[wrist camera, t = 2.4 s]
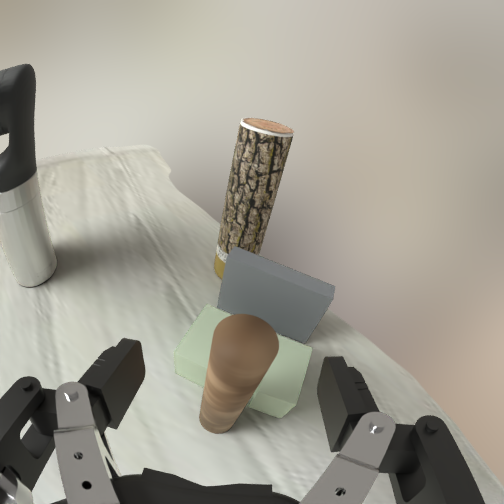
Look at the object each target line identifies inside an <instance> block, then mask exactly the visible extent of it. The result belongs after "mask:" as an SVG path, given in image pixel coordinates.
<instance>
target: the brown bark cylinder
mask: <svg viewBox="0 0 504 504" xmlns="http://www.w3.org/2000/svg"><path fill="white" fill-rule="evenodd" d="M293 132H294V131H293V130H292V129H291V128H289V127H287V126H284V125H282V124H279V123H276V122H272V121H268V120H263V119H257V118H243V119H241V123H240V127H239V131H238V136H237V141H236V146H235V151H234V156H233V161H232V166H231V171H230V176H229V182H228V187H227V193H226V198H225V204H224V209H223V215H222V220H221V226H220V232H219V238H218V244H217V251H216V257H215V263H214V269H215V272H216V274H217V275H218V276H219V277H220V278H221V279H222V278H223V273H224V268H225V263H226V258H227V255H228V254H229V253H230V251H231V250H232V249H233V247H234V246H236V247H239V248H241V249H244V250H246V251H249V252H251V253H254V254H256V255H259V253H260V250H261V246H262V243H263V239H264V236H265V232H266V229H267V225H268V222H269V219H270V215H271V211H272V208H273V205H274V201H275V198H276V194H277V191H278V187H279V184H280V180H281V177H282V173H283V170H284V166H285V163H286V159H287V156H288V152H289V149H290V145H291V142H292V138H293Z"/></svg>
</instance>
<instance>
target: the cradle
mask: <svg viewBox="0 0 504 504" xmlns="http://www.w3.org/2000/svg"><path fill="white" fill-rule="evenodd" d="M228 316H231V315H230V314H228V313H226V312H224V311H222V310H219V309H217V308H215V307H213V306H210V305H208V304H206V306H205V307H204V308H203V310H202V311H201V313H200V314H199V316H198V317H197V319H196V320H195V322H194V323H193V324H192V326H191V327H190V329H189V330H188V332H187V333H186V335H185V336H184V338H183V339H182V341H181V342H180V344H179V345H178V346H177V348H176V349H175V351H174V365H175V373H176V374H178V375H180V376H182V377H184V378H186V379H188V380H190V381H192V382H194V383H196V384H198V385H200V386H202V387H204V385H205V379H206V373H207V367H208V361H209V355H210V350H211V344H212V338H213V333H214V330H215V328H216V326H217V325H218V323H219V322H220V321H222V320H223V319H224V318H226V317H228ZM277 336H278V340H279V350H278V353H277V356H276V357H275V359H274V361H273V362H272V364H271V366H270V367H269V369H268V371H267V372H266V374H265V376H264V377H263V379H262V381H261V382H260V384H259V386H258V387H257V389H256V390H255V392H254V394H253V396H252V399H251V401H250V403H249V406H248V407H250V408H252V409H255V410H258V411H260V412H263V413H266V414H268V415H271V416H274V417H277V418H280V419H281V418H282V417H283V416H284V415H286V414H287V413H288V412H289V411H290V410H291V409H292V408H293V407H295V406H296V404H297V401H298V398H299V395H300V391H301V388H302V385H303V381H304V378H305V374H306V371H307V367H308V364H309V360H310V356H311V352H312V349H313V348H312V347H309V346H306V345H304V344H301V343H298V342H296V341H293V340H291V339H288V338H286V337H283V336H280V335H278V334H277Z"/></svg>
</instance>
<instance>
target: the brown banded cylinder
mask: <svg viewBox="0 0 504 504" xmlns="http://www.w3.org/2000/svg"><path fill="white" fill-rule="evenodd" d="M278 350H279V340H278V336H277V334H276V332H275V331H274V329H273V328H272V327H271V326H270V325H269V324H268V323H267V322H266V321H264V320H263V319H261V318H259V317H256V316H253V315H249V314H235V315H231V316H228V317H226V318H224V319H223V320H222V321H220V322H219V323H218V325H217V326H216V328H215V330H214V333H213V338H212V344H211V350H210V355H209V361H208V367H207V373H206V379H205V385H204V391H203V397H202V403H201V409H200V416H199V419H200V423H201V425H202V426H203V427H204V428H205V429H206V430H207V431H209V432H212V433H216V434H219V433H224V432H226V431H228V430H229V429H230V428H231V427H232V426H233V424H234V423H235V421H236V420H237V418H238V417H239V415H240V414H241V412H242V411H243V409H244V408H245V406H246V404H247V403H248V401H249V400H250V398H251V397H252V395H253V394H254V392H255V390H256V389H257V387H258V386H259V384H260V382H261V381H262V379H263V377H264V376H265V374H266V372H267V371H268V369H269V367H270V366H271V364H272V362H273V361H274V359H275V357H276V356H277V353H278Z"/></svg>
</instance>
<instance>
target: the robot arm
mask: <svg viewBox="0 0 504 504" xmlns="http://www.w3.org/2000/svg"><path fill="white" fill-rule="evenodd" d="M35 93H36V78H35V72H34V69H33V67H32V66H31V65H30V64H22V65H18V66H15V67H11V68H8V69H5V70H1V71H0V136H1V135H4V134H7V133H9V146H8V147H7V148H6V150H5V151H4V152H3V153H1V154H0V242H1V245H2V248H3V250H4V253H5V256H6V258H7V261H8V263H9V266H10V268H11V270H12V272H13V275H14V277H15V279H16V281H17V282H18V283H19V284H20V285H22V286H25V287H33V286H37V285H39V284H41V283H43V282H45V281H46V280H47V279H49V278H50V277H51V276H52V274H53V273H54V271H55V269H56V266H57V259H56V256H55V252H54V249H53V245H52V241H51V238H50V234H49V230H48V226H47V222H46V217H45V213H44V208H43V203H42V198H41V193H40V187H39V181H38V174H37V167H36V158H35V140H34V139H35V138H34V110H35ZM144 377H145V364H144V359H143V353H142V347H141V343H140V341H137V340H132V339H127V338H123V339H122V340H121V341H120V342H119V343H118V345H117V346H116V347H113V346H112V347H110V348H109V349H107V350H105V351H103V353H102V354H101V355H100V356H99V357H98V359H97V360H96V361H95V362H94V364H92V365H91V367H90V368H89V369H88V370H87V371H86V372H85V374H84V375H83V376H82V377H81V378H80V380H79V381H78V382H67V383H64V384H62V385H61V386H60V387H58V389H57V390H52V389H44V388H42V386H41V384H40V382H39V380H38V379H36V378H35V377H31V376H27V377H23V378H20V379H19V380H17V381H16V382H15V383H14V384H13V385H12V387H11V388H10V389H9V390H8V391H7V392H6V393H5V394H4V395H3V397H2V398H1V399H0V504H34V503H33V496H32V493H31V492H32V490H33V488H34V486H35V484H36V482H37V480H38V478H39V476H40V474H41V472H42V471H43V469H44V467H45V465H46V463H47V461H48V460H49V458H50V456H51V454H52V452H53V451H54V449H55V447H56V453H57V459H58V464H59V469H60V474H61V479H62V483H63V487H64V491H65V495H66V499H63V500H60V501H57V502H54V503H51V504H362V503H363V501H364V499H365V497H366V496H367V494H368V492H369V490H370V488H371V487H372V485H373V483H374V481H375V479H376V477H377V475H378V473H388V474H389V477H390V481H391V484H392V488H393V492H394V496H395V499H396V503H397V504H485V502H484V500H483V498H482V495H481V493H480V491H479V489H478V486H477V484H476V482H475V480H474V478H473V476H472V474H471V472H470V469H469V467H468V465H467V463H466V461H465V459H464V457H463V456H462V454H461V452H460V450H459V448H458V446H457V444H456V442H455V440H454V439H453V437H452V435H451V433H450V431H449V429H448V428H447V426H446V424H445V423H444V421H443V420H441V419H440V418H438V417H436V416H431V415H427V416H423V417H421V418H419V419H418V420H417V422H416V424H415V425H404V424H395V422H394V420H393V419H392V418H391V417H390V416H389V415H387V414H385V413H381V412H379V410H378V407H377V405H376V403H375V401H374V399H373V397H372V395H371V393H370V391H369V390H368V387H367V384H366V383H365V380H364V378H363V376H362V374H361V373H360V372H359V371H357V370H356V369H355V368H354V367H347V364H346V362H345V360H344V358H343V357H342V356H338V357H325V358H324V361H323V365H322V369H321V373H320V377H319V381H318V386H317V395H318V400H319V404H320V408H321V412H322V416H323V420H324V425H325V429H326V433H327V437H328V442H329V446H330V450H331V452H338V451H340V453H339V454H337V455H336V457H335V458H334V459H333V461H332V462H331V464H330V465H329V466H328V468H327V469H326V471H325V472H324V473H323V475H322V476H321V477H320V479H319V480H318V481H317V482H316V484H315V485H314V486H313V488H312V489H311V490H310V491H309V492H308V494H307V495H306V496H305V497H304V498H303V500H302V501H301V502H299V501H297V500H295V499H293V498H291V497H289V496H286V495H283V494H280V493H276V492H272V485H261V484H231V485H221V486H202V485H199V484H196V483H194V482H191V481H188V480H186V479H183V478H181V477H178V476H176V475H173V474H169V473H164V472H160V471H156V470H152V469H148V468H144V470H143V473H142V474H134V475H124V476H122V475H121V473H120V471H119V469H118V467H117V464H116V462H115V459H114V457H113V454H112V451H111V448H110V445H109V442H108V439H107V436H106V434H105V430H106V428H107V427H110V428H114V429H117V428H118V426H119V424H120V422H121V421H122V419H123V417H124V415H125V413H126V411H127V409H128V408H129V406H130V404H131V402H132V400H133V399H134V397H135V395H136V393H137V391H138V390H139V388H140V386H141V384H142V382H143V380H144ZM29 419H30V421H31V423H32V425H31V426H30V428H29V429H28V430H27V432H26V433H25V435H24V436H23V438H22V439H20V432H21V430H22V428H23V427H24V426H25V424H26V423H27V422H28V420H29Z"/></svg>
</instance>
